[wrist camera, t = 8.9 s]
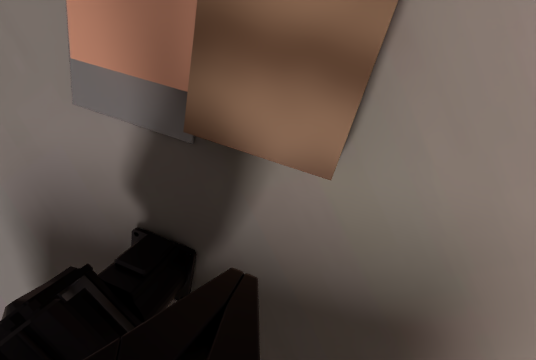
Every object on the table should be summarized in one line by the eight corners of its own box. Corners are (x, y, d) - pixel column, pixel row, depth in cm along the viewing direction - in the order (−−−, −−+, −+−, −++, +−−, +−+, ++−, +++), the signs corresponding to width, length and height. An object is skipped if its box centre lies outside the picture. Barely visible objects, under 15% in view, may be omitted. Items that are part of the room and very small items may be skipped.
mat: (193, 142, 20) (191, 143, 20) (75, 103, 22) (72, 104, 22) (223, -95, 15) (221, -98, 14) (62, -123, 16) (57, -126, 16)
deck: (333, 167, 18) (331, 180, 16) (201, 125, 20) (183, 131, 17) (403, -25, 14) (415, -45, 11) (227, -60, 15) (206, -84, 13)
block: (216, -11, 16) (199, -23, 14) (203, 90, 18) (188, 92, 17) (91, -38, 17) (62, -52, 16) (95, 60, 20) (70, 58, 18)
